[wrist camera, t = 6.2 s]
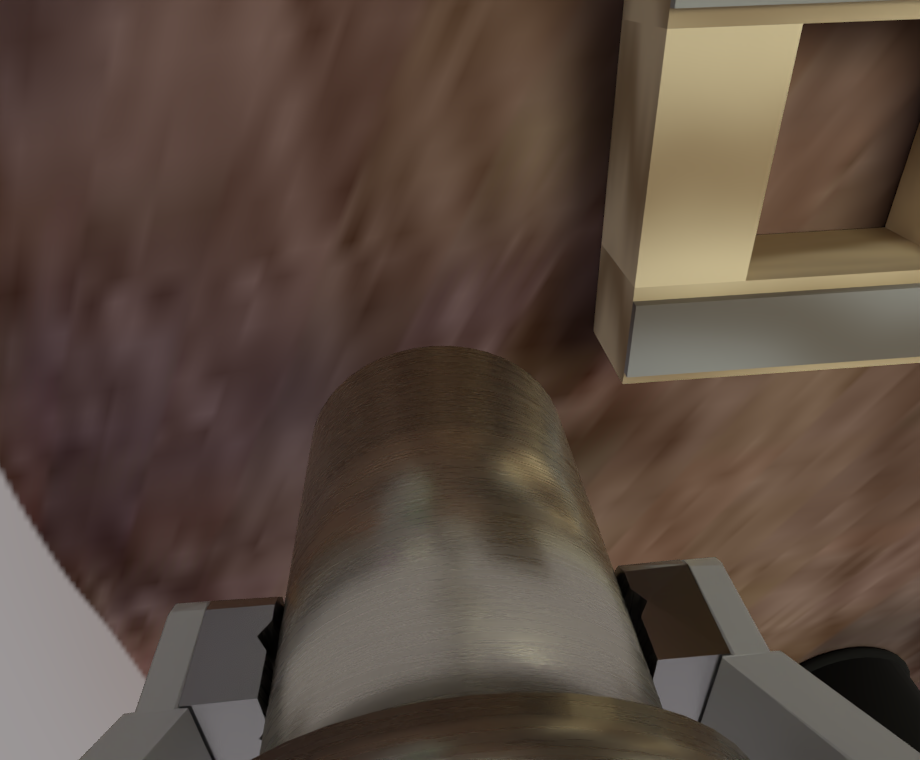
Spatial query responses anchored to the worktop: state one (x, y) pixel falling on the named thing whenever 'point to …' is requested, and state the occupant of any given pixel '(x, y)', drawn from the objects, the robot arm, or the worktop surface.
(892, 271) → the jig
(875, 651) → the aerosol can
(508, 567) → the flanged metal cylinder
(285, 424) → the worktop surface
